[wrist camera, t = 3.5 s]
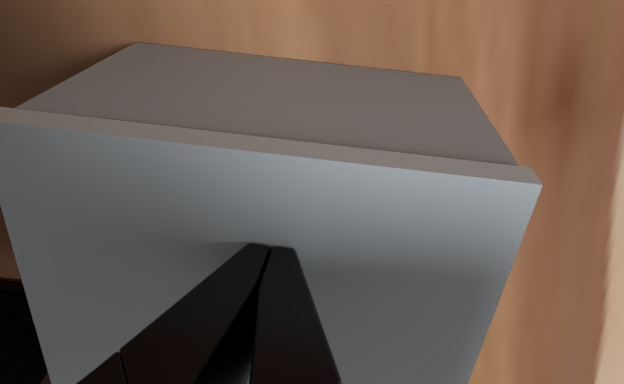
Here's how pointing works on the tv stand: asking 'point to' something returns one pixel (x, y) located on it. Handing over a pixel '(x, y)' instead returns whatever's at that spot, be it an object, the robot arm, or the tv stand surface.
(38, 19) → the tv stand surface
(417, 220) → the box lid
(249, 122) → the box
